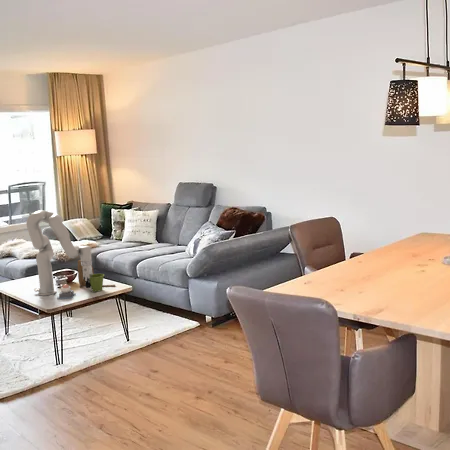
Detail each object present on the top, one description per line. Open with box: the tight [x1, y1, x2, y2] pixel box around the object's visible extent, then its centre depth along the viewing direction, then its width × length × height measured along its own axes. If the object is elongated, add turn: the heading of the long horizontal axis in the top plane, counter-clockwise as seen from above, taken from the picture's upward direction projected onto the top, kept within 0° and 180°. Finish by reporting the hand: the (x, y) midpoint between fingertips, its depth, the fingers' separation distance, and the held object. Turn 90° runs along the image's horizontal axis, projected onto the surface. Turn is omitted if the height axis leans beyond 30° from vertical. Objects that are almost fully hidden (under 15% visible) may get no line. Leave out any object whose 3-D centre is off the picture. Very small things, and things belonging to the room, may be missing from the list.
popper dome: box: [60, 283, 72, 293], centre depth 381 cm, size 6×6×8 cm
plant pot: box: [89, 273, 105, 292], centre depth 394 cm, size 12×12×11 cm
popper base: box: [57, 289, 76, 300], centre depth 382 cm, size 10×10×4 cm
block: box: [77, 258, 95, 287], centre depth 412 cm, size 11×8×20 cm
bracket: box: [102, 284, 116, 288], centre depth 404 cm, size 15×3×1 cm, turn 91°
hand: (88, 287), depth 394 cm, fingers closed
